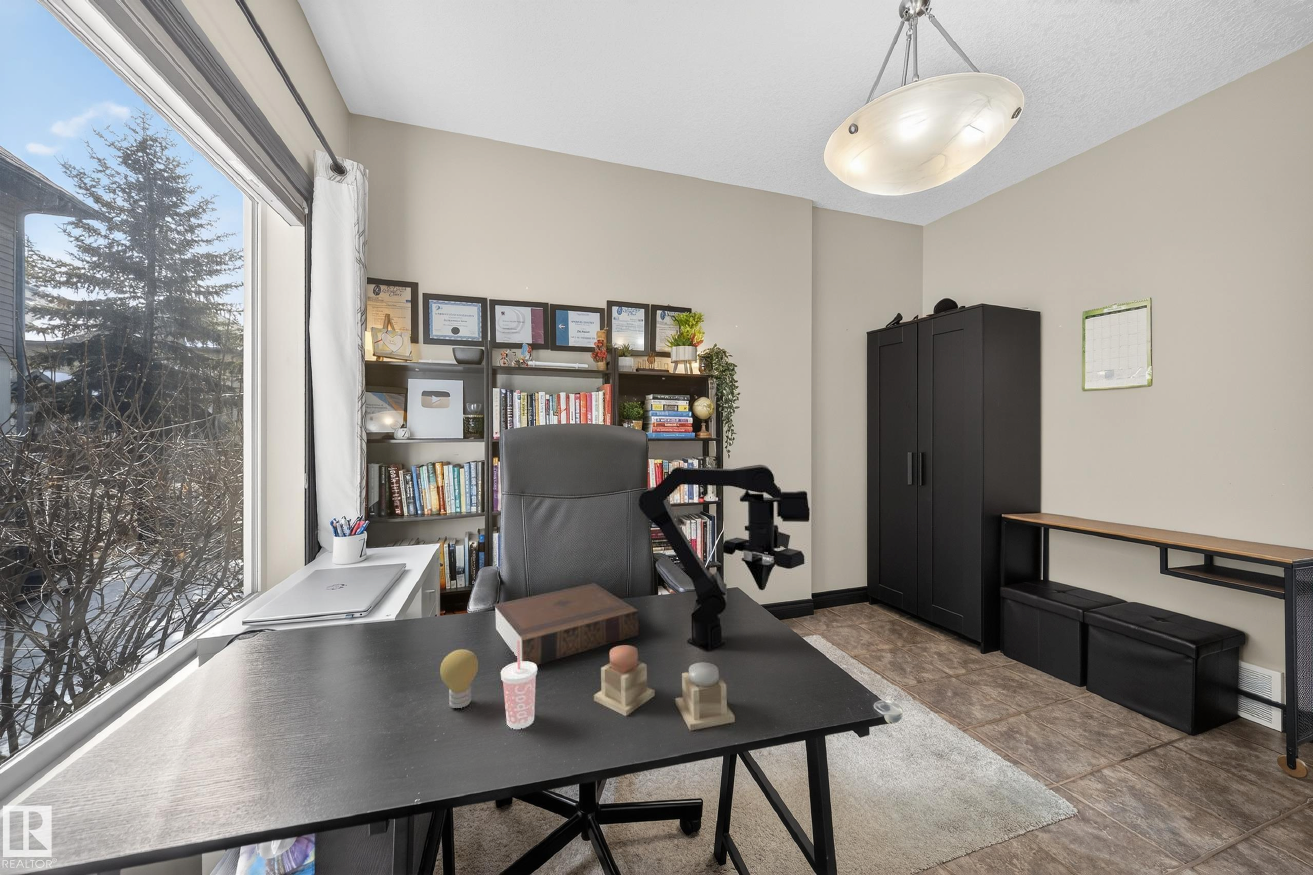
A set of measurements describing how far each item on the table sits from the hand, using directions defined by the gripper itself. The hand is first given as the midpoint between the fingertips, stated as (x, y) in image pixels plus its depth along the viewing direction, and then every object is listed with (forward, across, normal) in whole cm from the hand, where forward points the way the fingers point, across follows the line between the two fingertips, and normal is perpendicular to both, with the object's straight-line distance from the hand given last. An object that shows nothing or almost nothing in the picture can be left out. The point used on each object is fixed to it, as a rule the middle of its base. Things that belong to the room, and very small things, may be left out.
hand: (761, 589), depth 109 cm
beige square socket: (+13, -8, +28) cm, 32 cm away
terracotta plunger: (+10, +5, +36) cm, 37 cm away
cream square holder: (+13, +5, +36) cm, 38 cm away
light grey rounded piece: (+12, -8, +28) cm, 31 cm away
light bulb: (+13, +24, +59) cm, 65 cm away
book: (+14, +38, +29) cm, 50 cm away
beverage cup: (+13, +12, +53) cm, 56 cm away
